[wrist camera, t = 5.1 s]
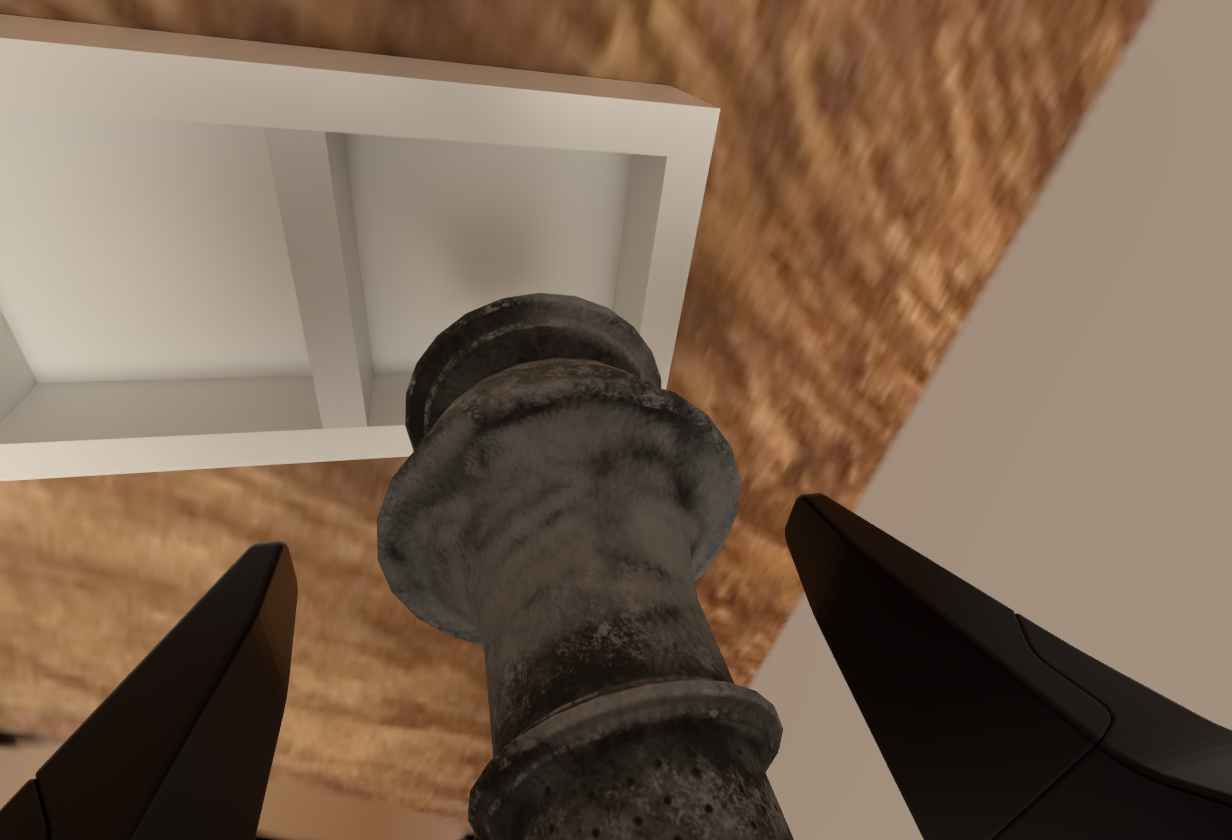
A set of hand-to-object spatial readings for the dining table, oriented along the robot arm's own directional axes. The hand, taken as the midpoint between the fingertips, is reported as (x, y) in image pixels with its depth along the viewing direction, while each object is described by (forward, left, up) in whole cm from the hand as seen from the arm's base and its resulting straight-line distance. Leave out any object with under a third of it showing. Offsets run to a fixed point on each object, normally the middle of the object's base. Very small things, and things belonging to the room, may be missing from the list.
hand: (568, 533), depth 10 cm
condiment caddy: (0, +5, -13) cm, 14 cm away
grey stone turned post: (0, 0, -4) cm, 4 cm away
